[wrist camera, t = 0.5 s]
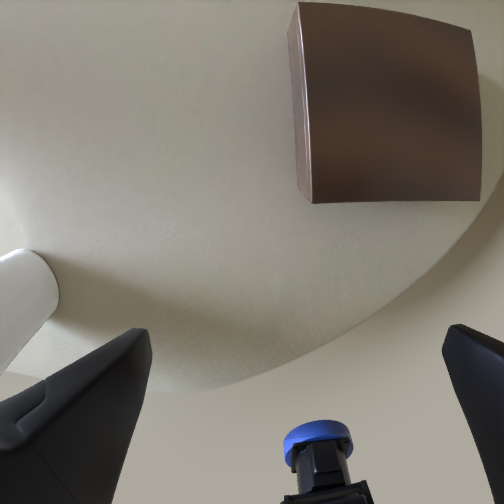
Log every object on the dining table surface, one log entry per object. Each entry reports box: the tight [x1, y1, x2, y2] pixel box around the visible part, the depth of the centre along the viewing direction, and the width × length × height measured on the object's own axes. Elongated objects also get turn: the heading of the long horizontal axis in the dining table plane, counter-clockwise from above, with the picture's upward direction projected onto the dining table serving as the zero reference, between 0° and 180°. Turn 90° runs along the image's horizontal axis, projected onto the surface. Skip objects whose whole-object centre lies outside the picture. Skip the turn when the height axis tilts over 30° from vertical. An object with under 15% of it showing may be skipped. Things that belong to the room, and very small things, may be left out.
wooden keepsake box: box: [287, 2, 482, 204], centre depth 15 cm, size 10×10×5 cm
